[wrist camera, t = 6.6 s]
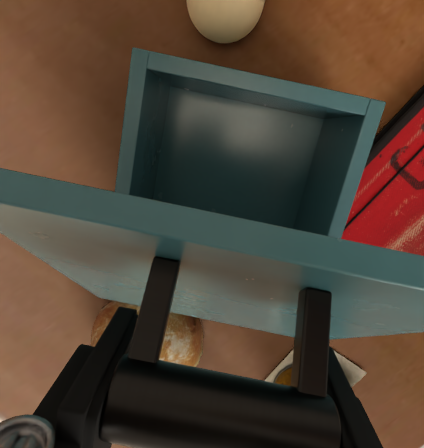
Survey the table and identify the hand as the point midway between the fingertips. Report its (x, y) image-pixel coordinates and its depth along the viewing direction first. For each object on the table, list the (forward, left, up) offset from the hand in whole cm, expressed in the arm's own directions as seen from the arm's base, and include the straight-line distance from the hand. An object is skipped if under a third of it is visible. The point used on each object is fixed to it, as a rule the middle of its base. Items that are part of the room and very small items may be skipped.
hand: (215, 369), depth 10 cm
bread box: (-3, 0, -19) cm, 20 cm away
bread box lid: (-1, 0, -4) cm, 4 cm away
